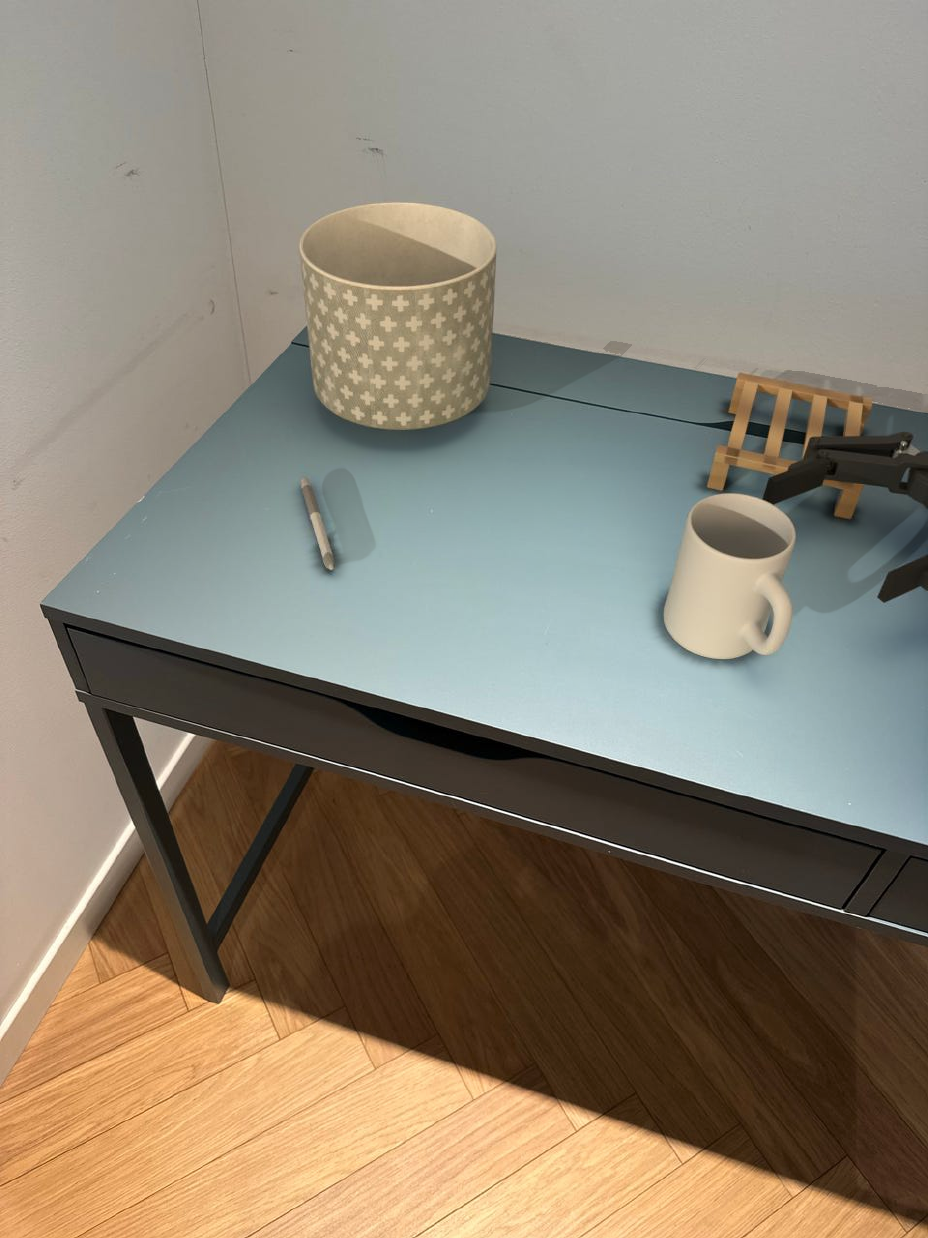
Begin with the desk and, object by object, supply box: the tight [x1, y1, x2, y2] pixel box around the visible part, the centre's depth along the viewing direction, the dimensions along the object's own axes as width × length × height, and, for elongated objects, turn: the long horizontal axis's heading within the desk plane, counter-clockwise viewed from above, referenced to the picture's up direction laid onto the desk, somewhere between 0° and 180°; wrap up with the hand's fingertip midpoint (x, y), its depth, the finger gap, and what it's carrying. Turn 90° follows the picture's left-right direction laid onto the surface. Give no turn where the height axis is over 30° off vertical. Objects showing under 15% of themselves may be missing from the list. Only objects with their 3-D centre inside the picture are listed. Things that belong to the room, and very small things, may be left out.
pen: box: [300, 476, 335, 571], centre depth 90 cm, size 1×14×1 cm, turn 17°
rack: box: [706, 372, 874, 520], centre depth 99 cm, size 16×14×4 cm
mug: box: [663, 492, 797, 660], centre depth 78 cm, size 12×8×11 cm
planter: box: [298, 201, 498, 431], centre depth 99 cm, size 19×19×18 cm
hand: (823, 537), depth 79 cm, fingers open, 13 cm apart
